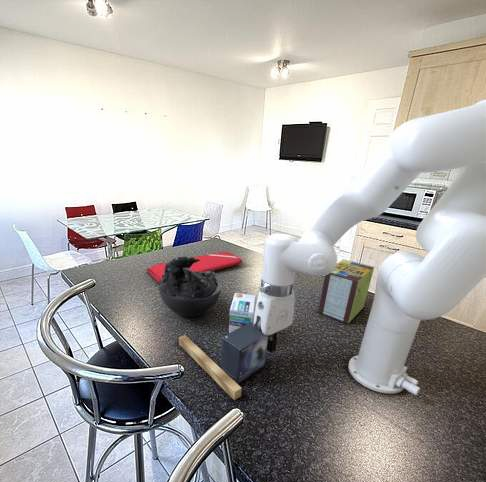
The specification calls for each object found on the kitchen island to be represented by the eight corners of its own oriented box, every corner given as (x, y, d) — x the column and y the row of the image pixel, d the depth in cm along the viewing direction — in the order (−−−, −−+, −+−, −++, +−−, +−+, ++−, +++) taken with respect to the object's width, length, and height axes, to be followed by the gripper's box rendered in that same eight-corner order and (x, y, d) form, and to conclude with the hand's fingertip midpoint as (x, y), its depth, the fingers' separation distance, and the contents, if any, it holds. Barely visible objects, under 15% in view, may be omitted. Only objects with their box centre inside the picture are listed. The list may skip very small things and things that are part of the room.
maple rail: (241, 396, 65) (241, 388, 64) (234, 400, 64) (234, 392, 63) (185, 342, 83) (185, 334, 82) (179, 344, 82) (178, 337, 81)
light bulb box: (251, 346, 82) (254, 313, 77) (227, 342, 83) (229, 310, 79) (254, 325, 91) (256, 294, 87) (232, 322, 93) (234, 292, 88)
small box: (237, 386, 68) (240, 350, 64) (218, 371, 72) (220, 336, 68) (266, 366, 74) (270, 331, 70) (247, 353, 79) (249, 320, 75)
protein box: (364, 307, 103) (374, 266, 97) (348, 324, 93) (359, 280, 87) (334, 297, 110) (343, 258, 103) (316, 312, 99) (324, 270, 93)
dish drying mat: (146, 271, 128) (146, 263, 127) (224, 256, 148) (224, 249, 146) (160, 285, 116) (159, 276, 114) (243, 266, 135) (243, 259, 134)
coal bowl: (183, 292, 110) (182, 245, 103) (230, 307, 101) (233, 256, 94) (147, 317, 94) (143, 263, 87) (200, 336, 85) (200, 278, 78)
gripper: (265, 301, 63) (258, 368, 70) (309, 284, 71) (299, 346, 78) (242, 288, 68) (238, 351, 76) (285, 274, 76) (277, 332, 84)
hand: (269, 348), depth 77 cm, fingers closed
